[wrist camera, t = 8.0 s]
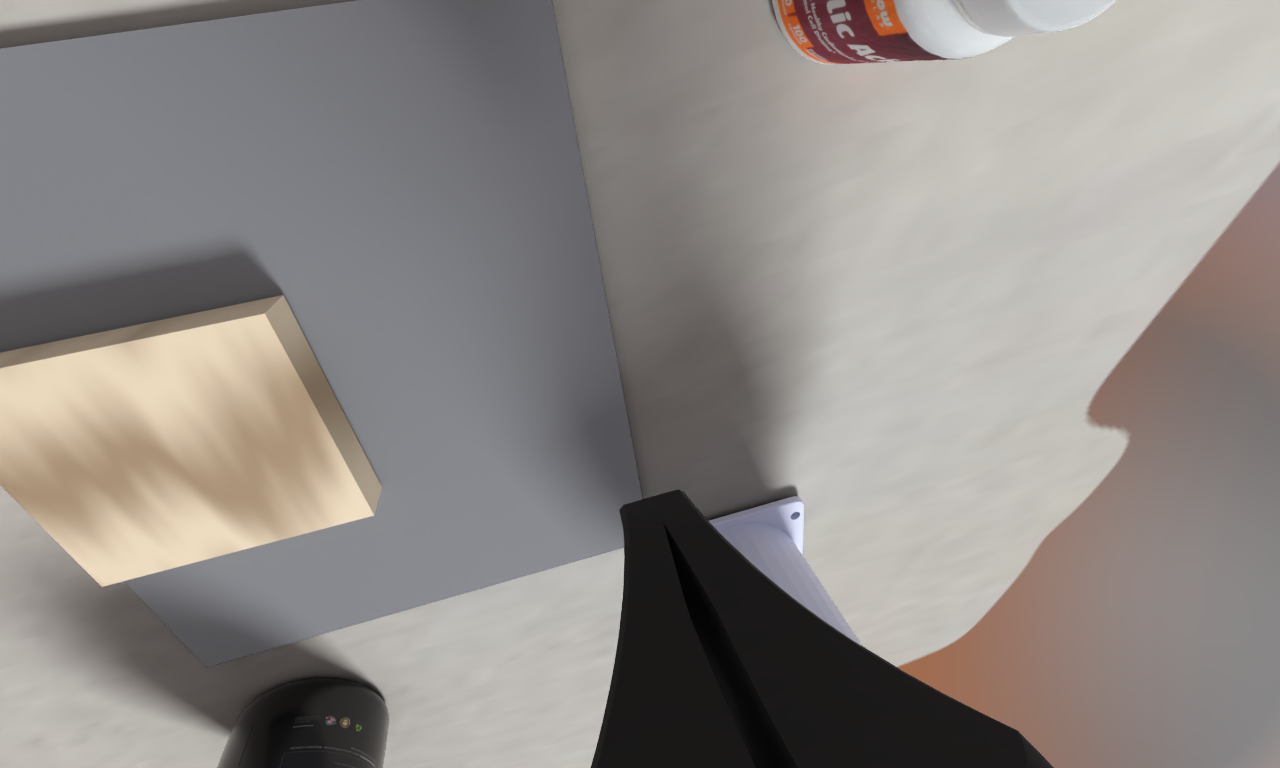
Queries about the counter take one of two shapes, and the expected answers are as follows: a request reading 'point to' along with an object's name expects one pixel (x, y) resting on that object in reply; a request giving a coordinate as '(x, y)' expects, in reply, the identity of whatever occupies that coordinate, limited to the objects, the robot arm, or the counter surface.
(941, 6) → the pill bottle
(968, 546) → the counter surface
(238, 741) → the supplement bottle
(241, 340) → the tile
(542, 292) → the mat
